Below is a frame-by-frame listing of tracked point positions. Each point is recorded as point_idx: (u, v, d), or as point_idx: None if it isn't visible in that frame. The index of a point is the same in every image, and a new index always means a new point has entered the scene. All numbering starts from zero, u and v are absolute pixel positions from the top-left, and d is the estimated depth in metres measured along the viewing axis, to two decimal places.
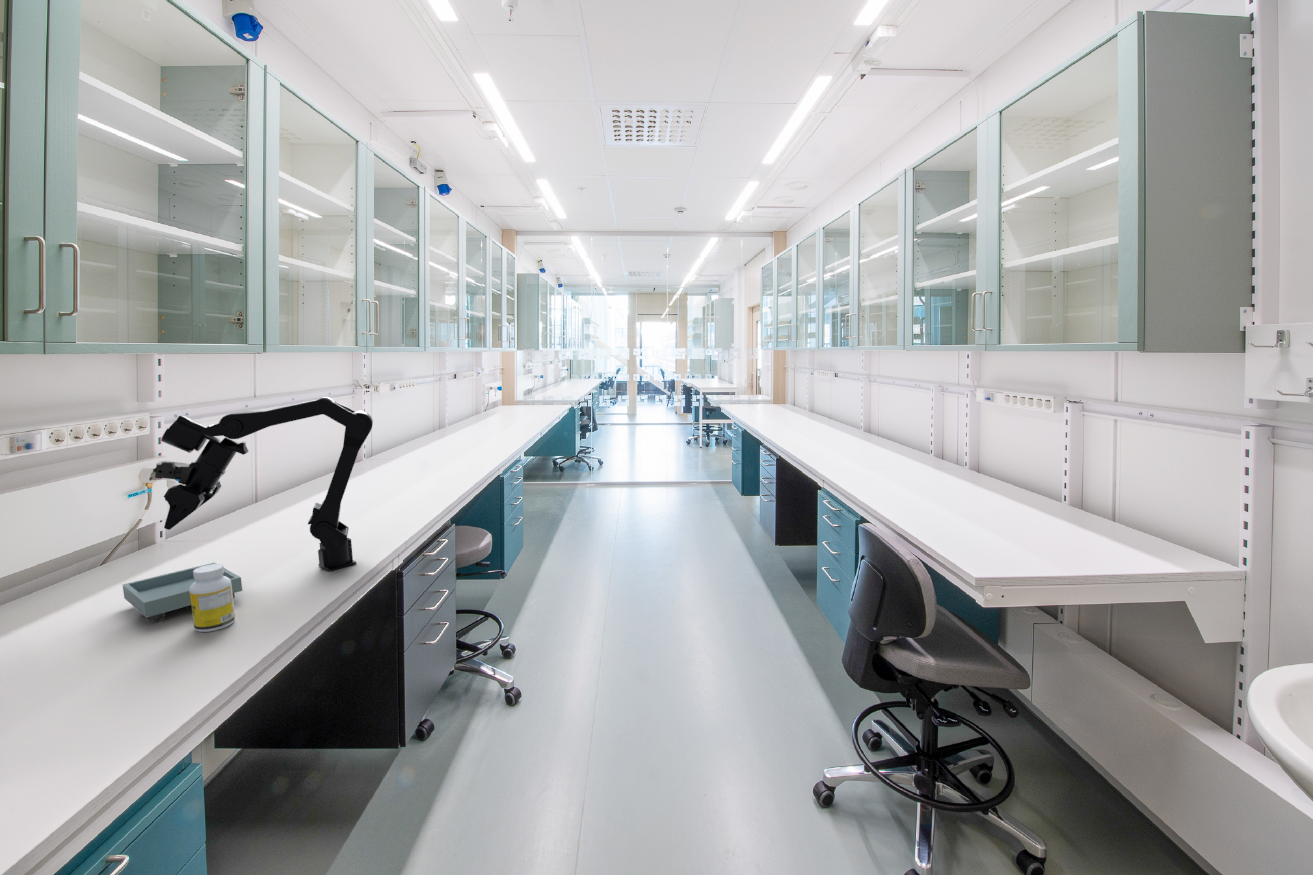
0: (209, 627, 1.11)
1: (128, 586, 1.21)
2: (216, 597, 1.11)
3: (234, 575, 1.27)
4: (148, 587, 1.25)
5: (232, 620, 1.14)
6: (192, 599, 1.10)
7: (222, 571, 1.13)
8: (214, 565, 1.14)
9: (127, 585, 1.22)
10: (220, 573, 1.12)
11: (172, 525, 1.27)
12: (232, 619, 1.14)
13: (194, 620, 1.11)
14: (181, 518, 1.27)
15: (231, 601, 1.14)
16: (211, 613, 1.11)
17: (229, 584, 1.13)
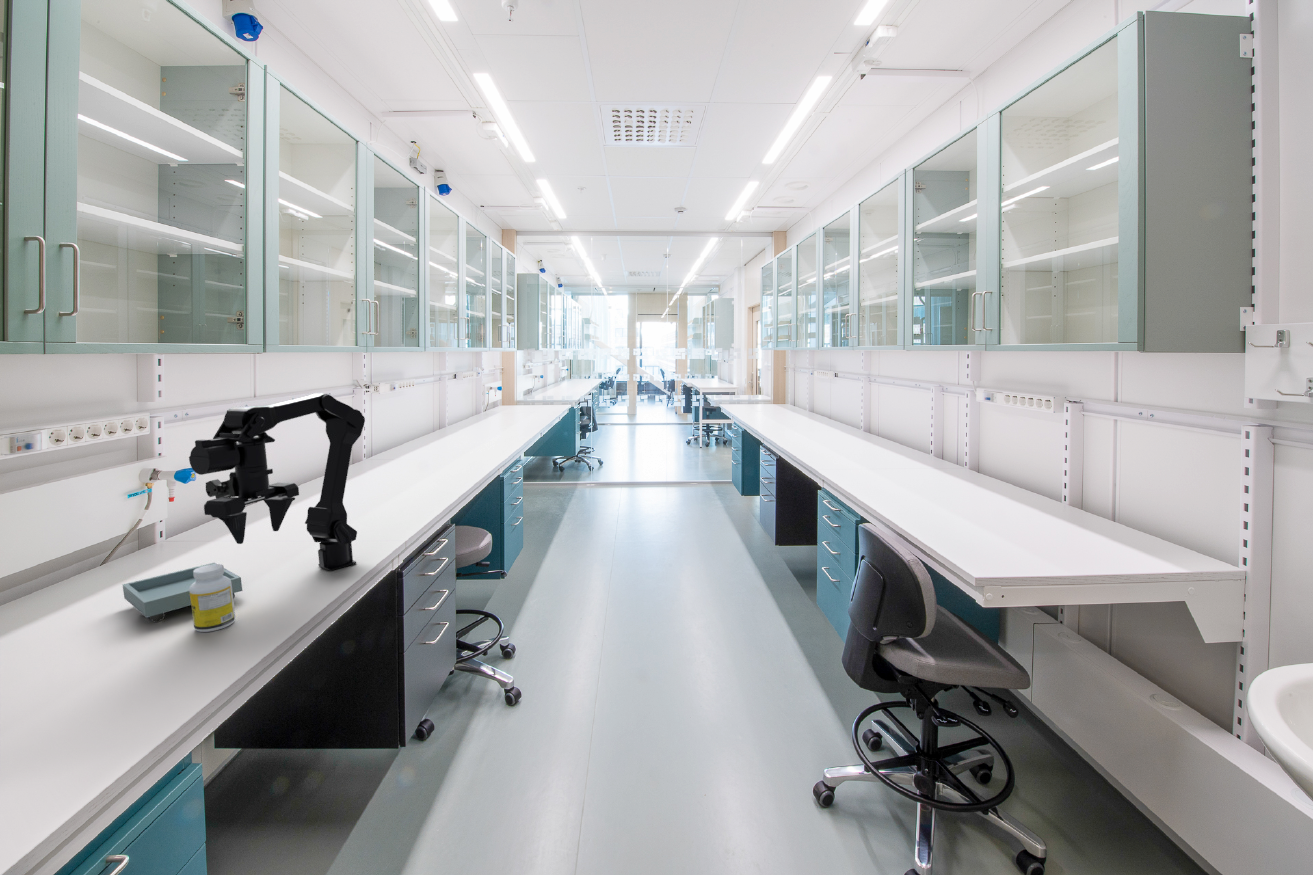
0: (209, 627, 1.11)
1: (128, 586, 1.21)
2: (216, 597, 1.11)
3: (234, 575, 1.27)
4: (148, 587, 1.25)
5: (232, 620, 1.14)
6: (192, 599, 1.10)
7: (222, 571, 1.13)
8: (214, 565, 1.14)
9: (127, 585, 1.22)
10: (220, 573, 1.12)
11: (239, 538, 1.22)
12: (232, 619, 1.14)
13: (194, 620, 1.11)
14: (239, 529, 1.21)
15: (231, 601, 1.14)
16: (211, 613, 1.11)
17: (229, 584, 1.13)
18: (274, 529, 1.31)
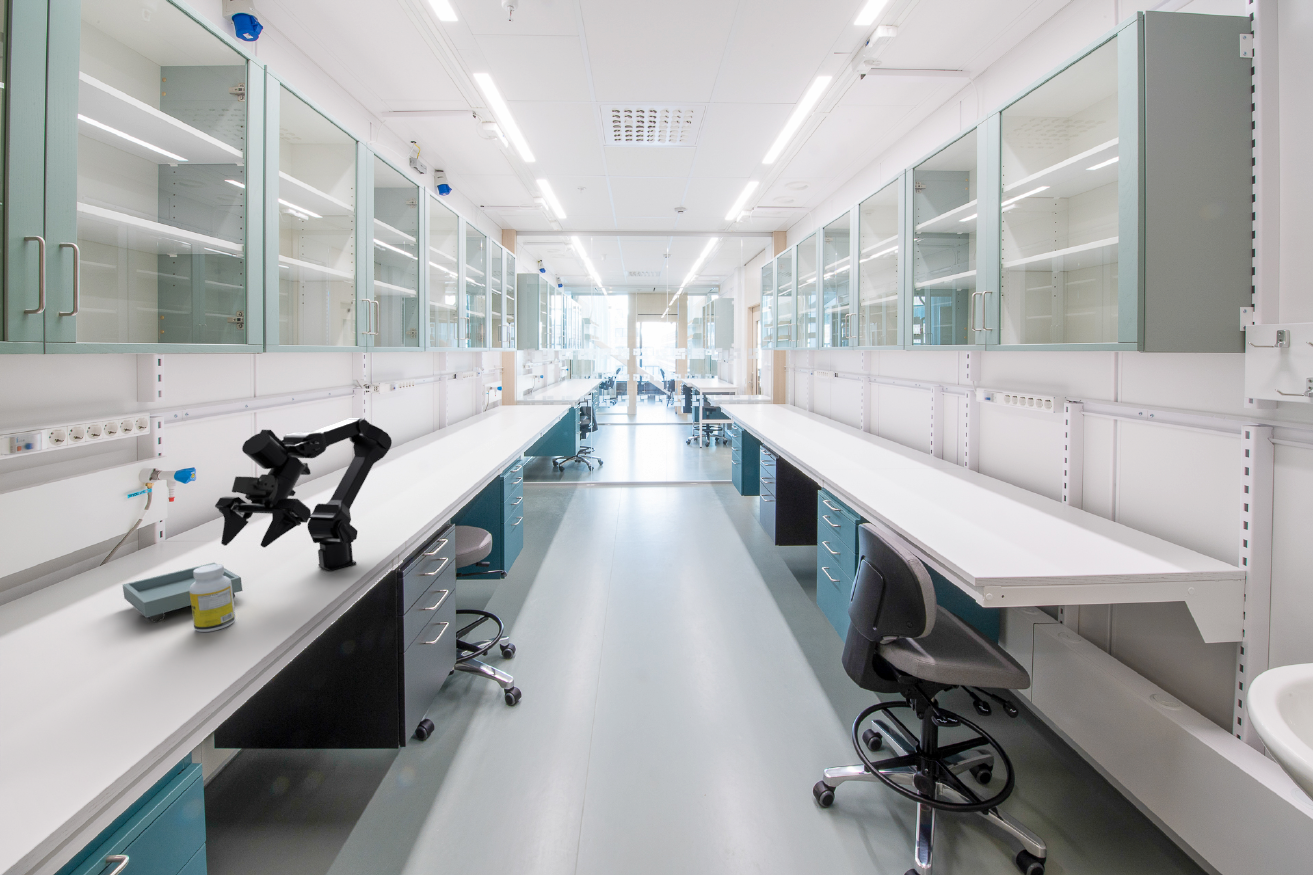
0: (209, 627, 1.11)
1: (128, 586, 1.21)
2: (216, 597, 1.11)
3: (234, 575, 1.27)
4: (148, 587, 1.25)
5: (232, 620, 1.14)
6: (192, 599, 1.10)
7: (222, 571, 1.13)
8: (214, 565, 1.14)
9: (127, 585, 1.22)
10: (220, 573, 1.12)
11: (270, 542, 1.20)
12: (232, 619, 1.14)
13: (194, 620, 1.11)
14: (280, 534, 1.22)
15: (231, 601, 1.14)
16: (211, 613, 1.11)
17: (229, 584, 1.13)
18: (224, 542, 1.21)
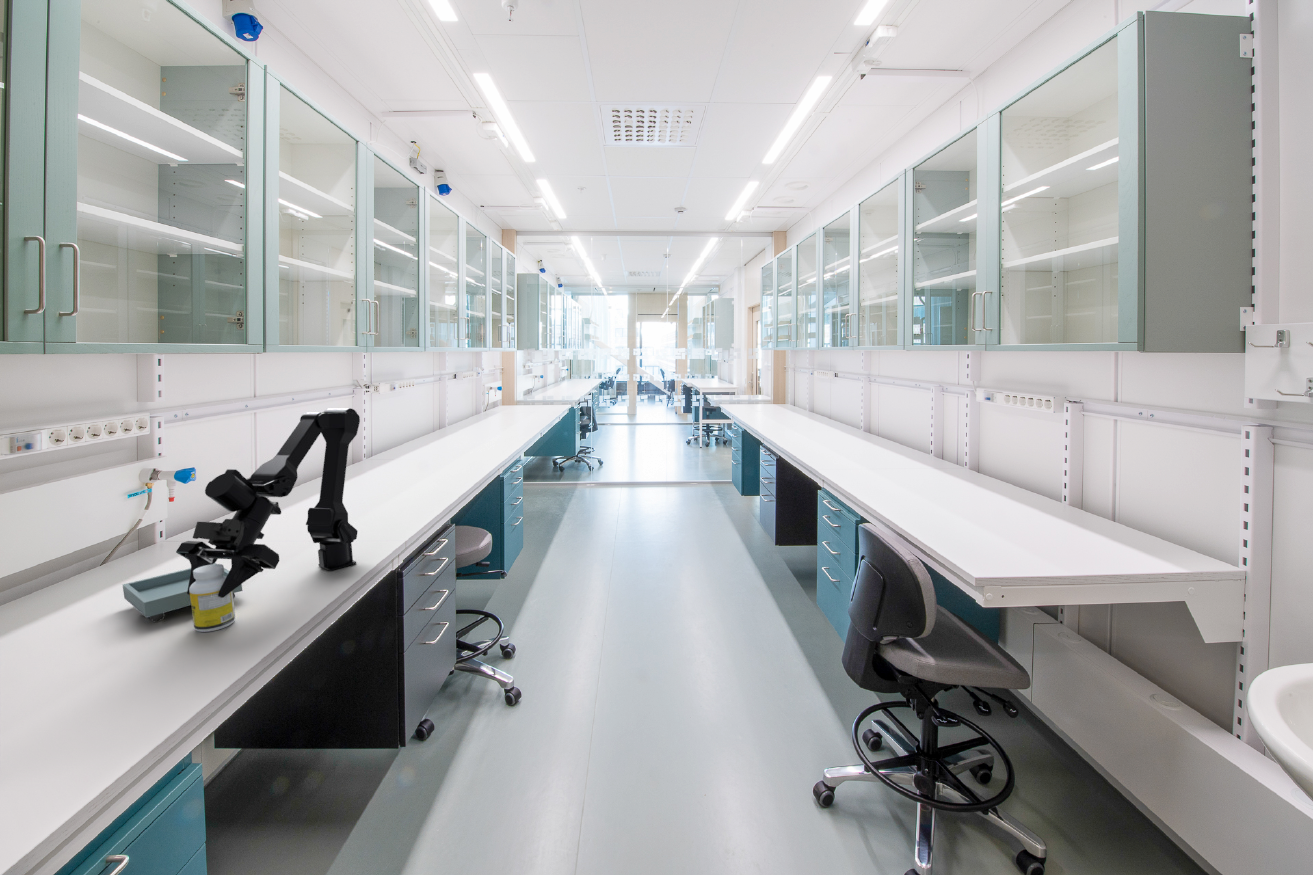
0: (209, 627, 1.11)
1: (128, 586, 1.21)
2: (216, 597, 1.11)
3: None
4: (148, 587, 1.25)
5: (232, 620, 1.14)
6: (192, 599, 1.10)
7: (222, 571, 1.13)
8: (214, 565, 1.14)
9: (127, 585, 1.22)
10: (220, 573, 1.12)
11: (228, 591, 1.12)
12: (232, 619, 1.14)
13: (194, 620, 1.11)
14: (240, 582, 1.14)
15: (231, 601, 1.14)
16: (211, 613, 1.11)
17: None
18: None
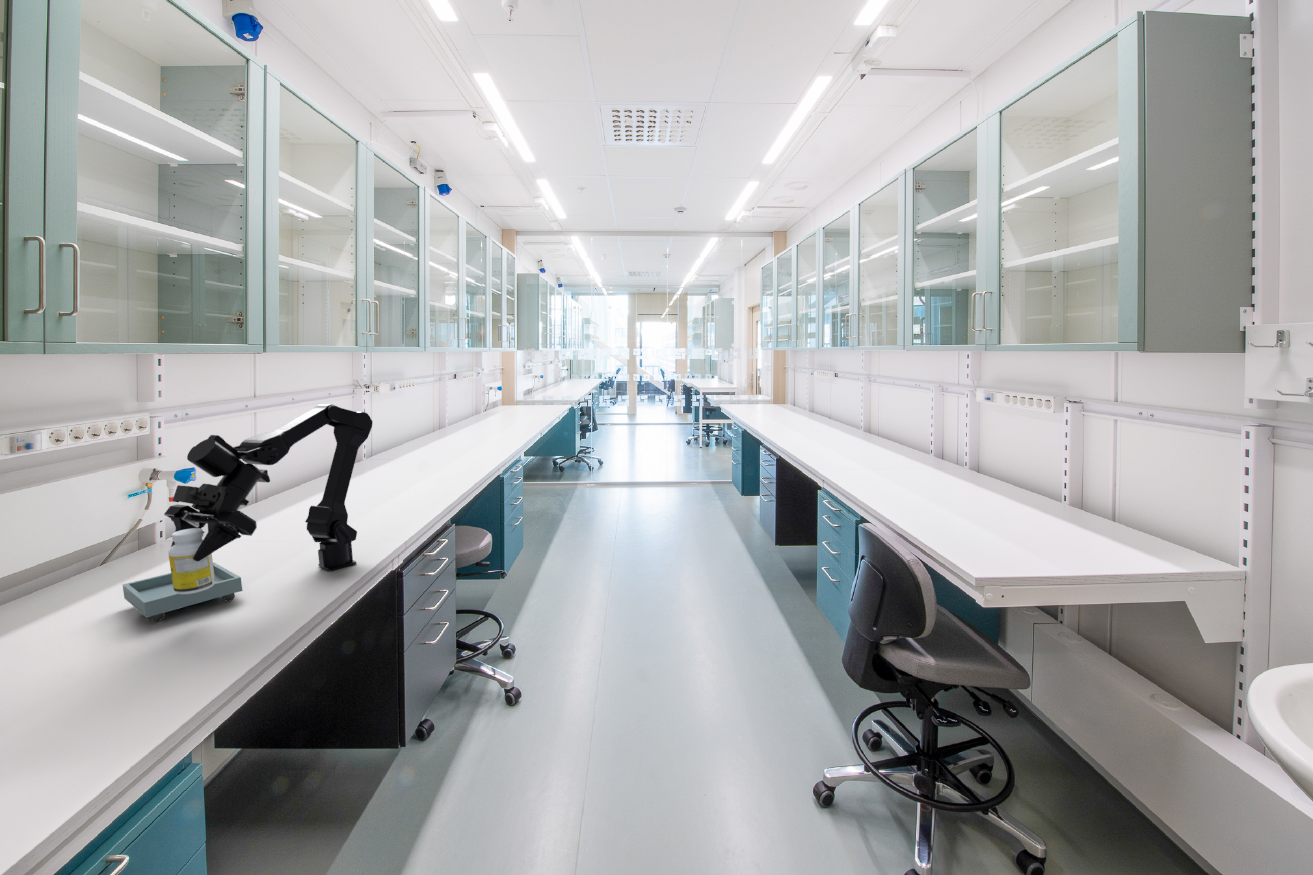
0: (185, 590, 1.12)
1: (128, 586, 1.21)
2: (192, 560, 1.12)
3: (234, 575, 1.27)
4: (148, 587, 1.25)
5: (210, 584, 1.15)
6: (170, 561, 1.12)
7: (200, 535, 1.14)
8: (194, 529, 1.15)
9: (127, 585, 1.22)
10: (197, 537, 1.13)
11: (204, 556, 1.13)
12: (210, 583, 1.15)
13: (173, 582, 1.12)
14: (217, 547, 1.15)
15: (209, 565, 1.15)
16: (187, 576, 1.12)
17: None
18: None
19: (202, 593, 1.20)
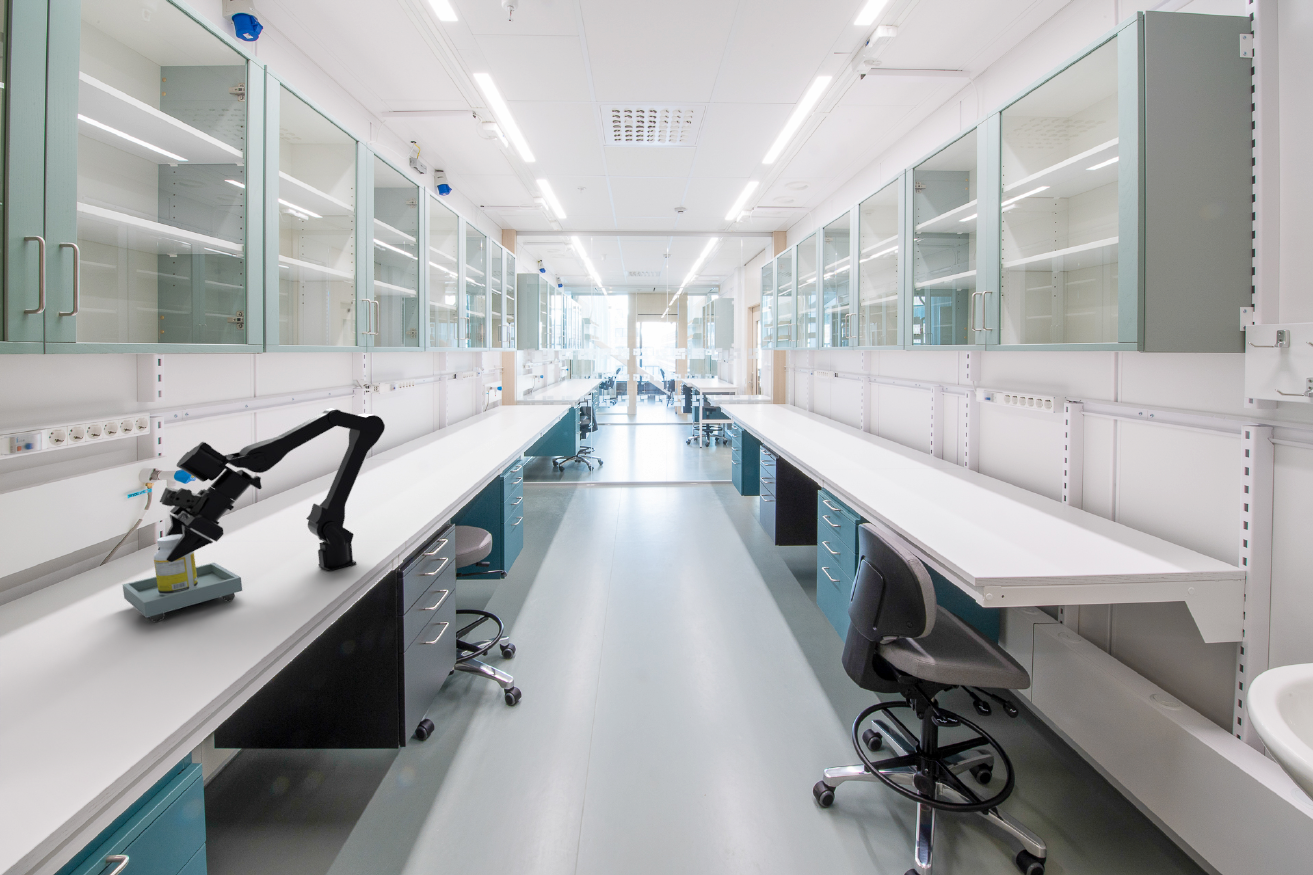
0: (162, 592, 1.20)
1: (128, 586, 1.21)
2: (167, 565, 1.20)
3: (234, 575, 1.27)
4: (148, 587, 1.25)
5: (186, 589, 1.22)
6: None
7: None
8: (180, 535, 1.23)
9: (127, 585, 1.22)
10: (175, 544, 1.21)
11: (177, 557, 1.19)
12: (186, 588, 1.22)
13: None
14: (190, 550, 1.20)
15: (186, 571, 1.22)
16: (163, 579, 1.20)
17: None
18: None
19: (202, 593, 1.20)
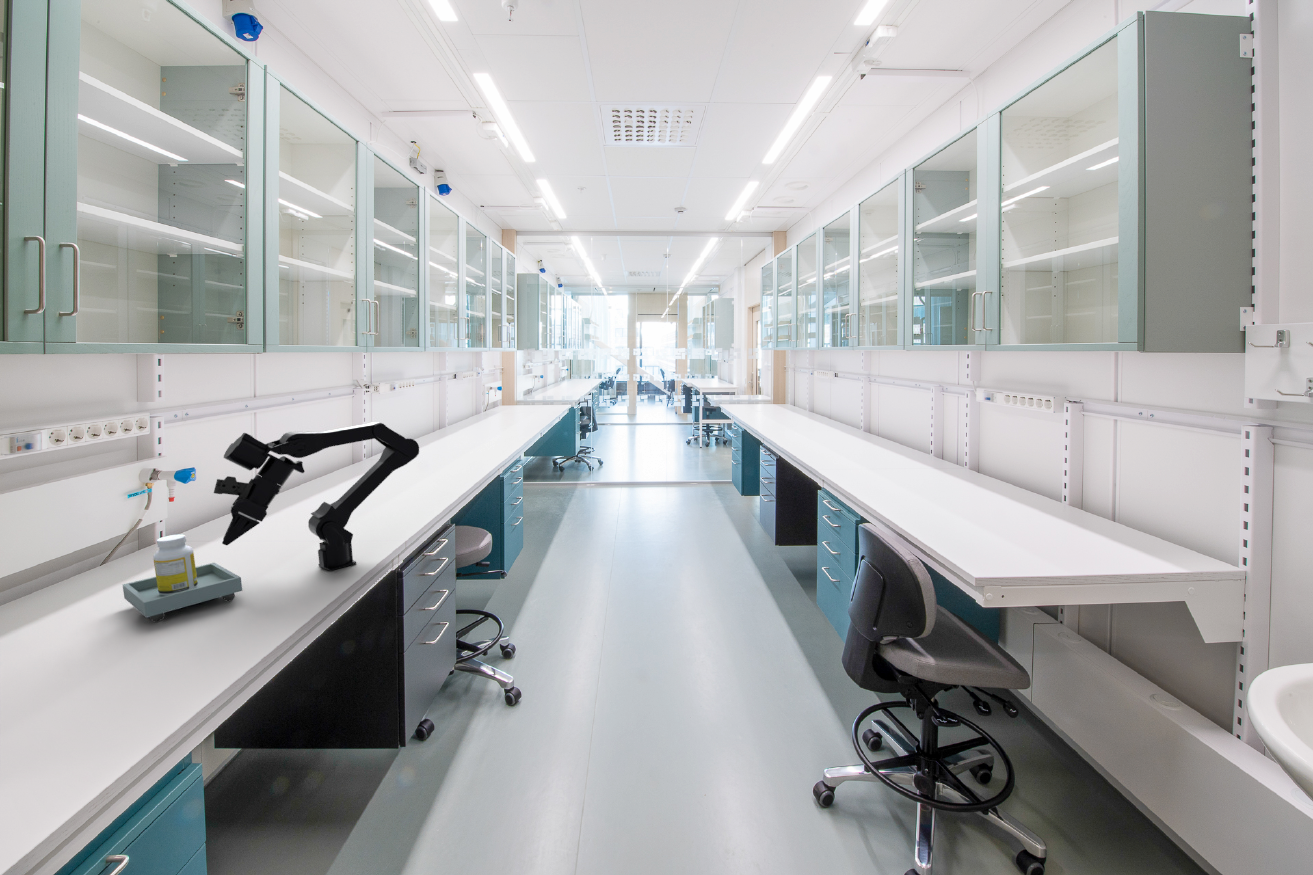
0: (163, 592, 1.20)
1: (128, 586, 1.21)
2: (167, 565, 1.20)
3: (234, 575, 1.27)
4: (148, 587, 1.25)
5: (186, 589, 1.22)
6: None
7: (178, 542, 1.21)
8: (179, 535, 1.23)
9: (127, 585, 1.22)
10: (175, 544, 1.21)
11: (231, 540, 1.26)
12: (186, 588, 1.22)
13: None
14: (242, 533, 1.26)
15: (186, 571, 1.22)
16: (163, 579, 1.20)
17: (183, 555, 1.21)
18: None
19: (202, 593, 1.20)
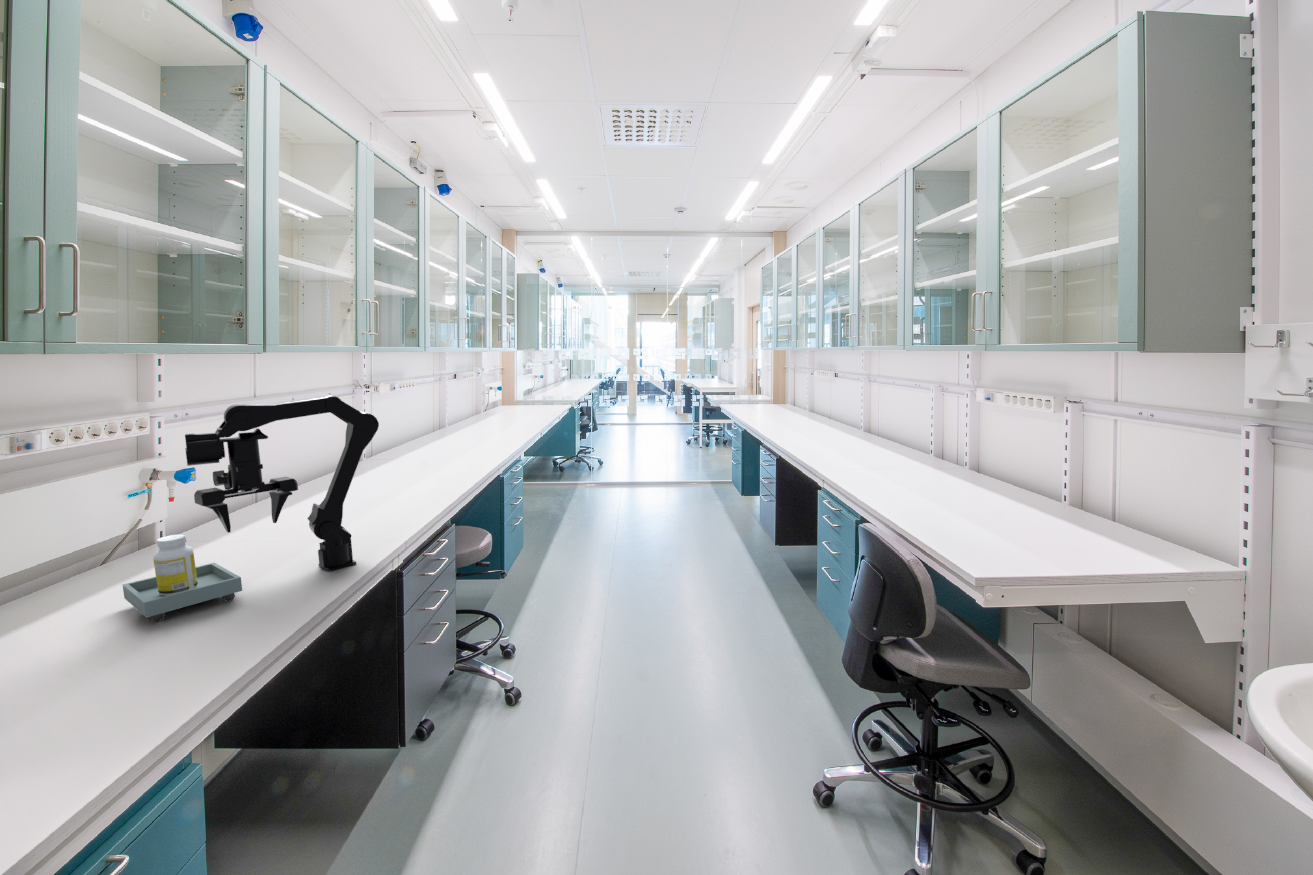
0: (163, 592, 1.20)
1: (128, 586, 1.21)
2: (167, 565, 1.20)
3: (234, 575, 1.27)
4: (148, 587, 1.25)
5: (186, 589, 1.22)
6: None
7: (178, 542, 1.21)
8: (179, 535, 1.23)
9: (127, 585, 1.22)
10: (175, 544, 1.21)
11: (226, 527, 1.30)
12: (186, 588, 1.22)
13: None
14: (222, 519, 1.29)
15: (186, 571, 1.22)
16: (163, 579, 1.20)
17: (184, 555, 1.21)
18: (273, 521, 1.38)
19: (202, 593, 1.20)
